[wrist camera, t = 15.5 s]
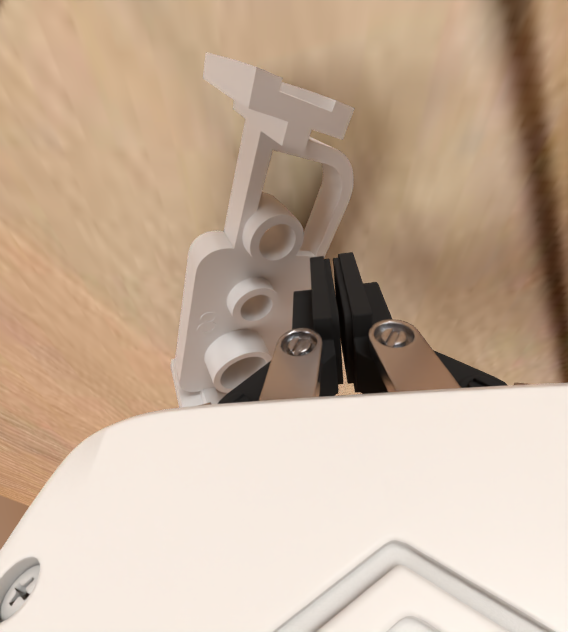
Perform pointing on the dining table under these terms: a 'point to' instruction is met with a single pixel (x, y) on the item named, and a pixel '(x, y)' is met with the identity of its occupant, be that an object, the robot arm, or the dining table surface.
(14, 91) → the dining table surface
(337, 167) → the white plastic bracket
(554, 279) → the dining table surface
